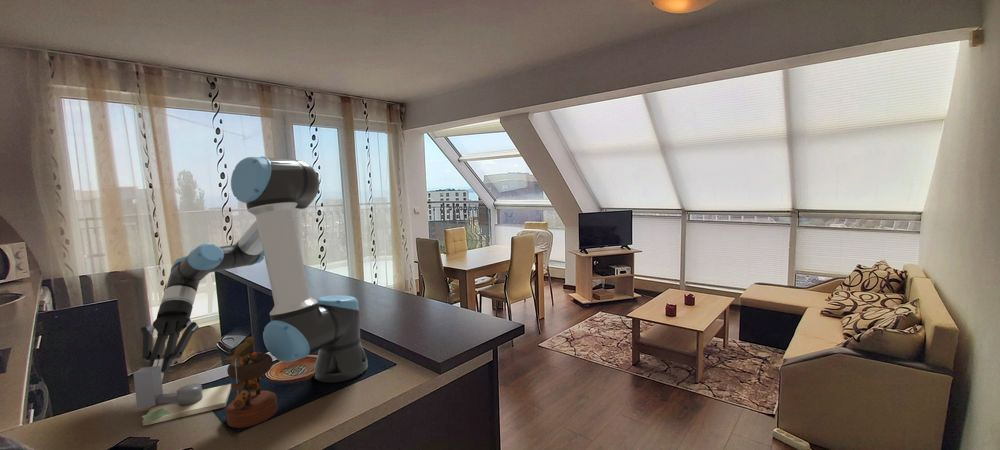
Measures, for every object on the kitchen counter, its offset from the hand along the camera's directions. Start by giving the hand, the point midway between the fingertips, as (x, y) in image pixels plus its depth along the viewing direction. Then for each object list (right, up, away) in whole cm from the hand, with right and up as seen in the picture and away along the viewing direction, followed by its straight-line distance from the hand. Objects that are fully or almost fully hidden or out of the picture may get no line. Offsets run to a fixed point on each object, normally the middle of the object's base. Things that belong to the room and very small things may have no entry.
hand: (153, 385), depth 99 cm
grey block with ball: (+6, -4, -1) cm, 7 cm away
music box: (+29, -5, -4) cm, 30 cm away
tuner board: (+10, -5, -1) cm, 11 cm away
